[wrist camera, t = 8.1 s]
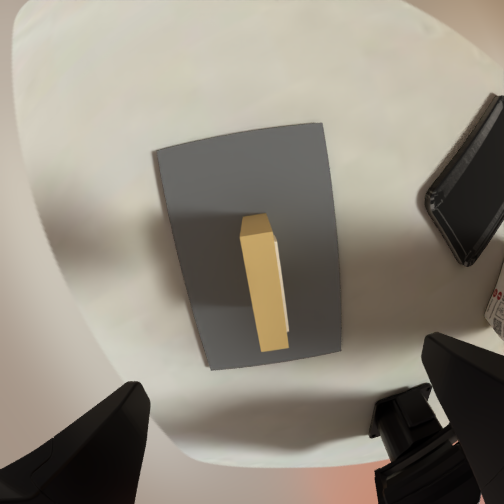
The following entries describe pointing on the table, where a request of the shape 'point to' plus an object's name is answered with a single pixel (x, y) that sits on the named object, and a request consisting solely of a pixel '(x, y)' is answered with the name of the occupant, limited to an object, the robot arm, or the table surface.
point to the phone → (472, 189)
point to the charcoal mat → (229, 245)
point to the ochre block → (265, 281)
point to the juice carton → (497, 307)
